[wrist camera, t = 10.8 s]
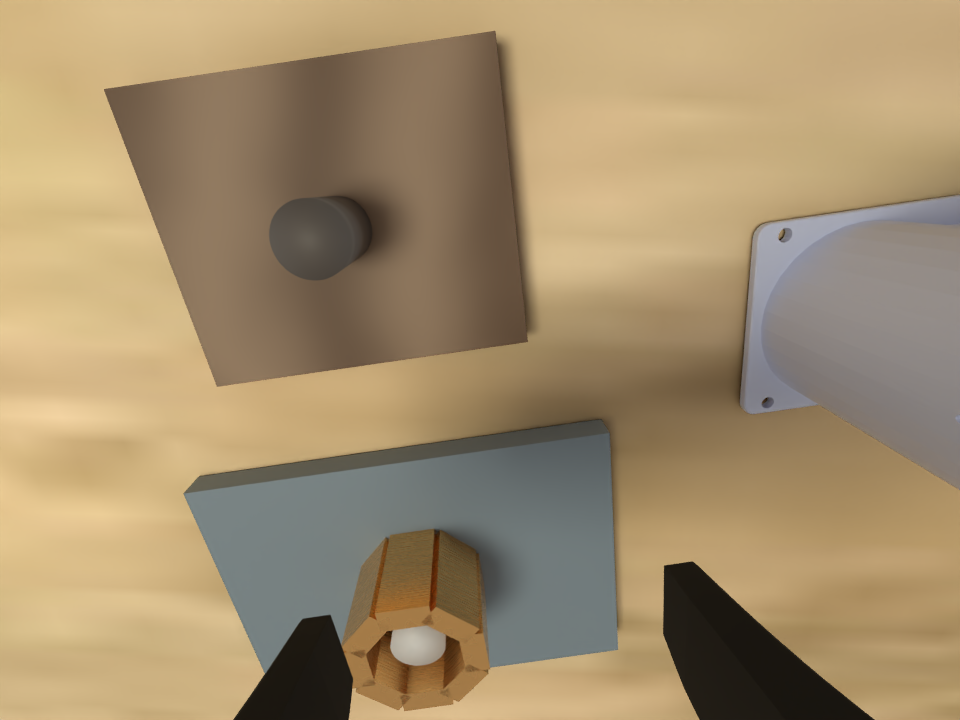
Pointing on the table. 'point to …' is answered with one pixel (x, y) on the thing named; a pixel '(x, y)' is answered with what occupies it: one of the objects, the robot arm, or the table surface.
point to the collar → (418, 620)
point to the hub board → (421, 506)
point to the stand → (334, 206)
